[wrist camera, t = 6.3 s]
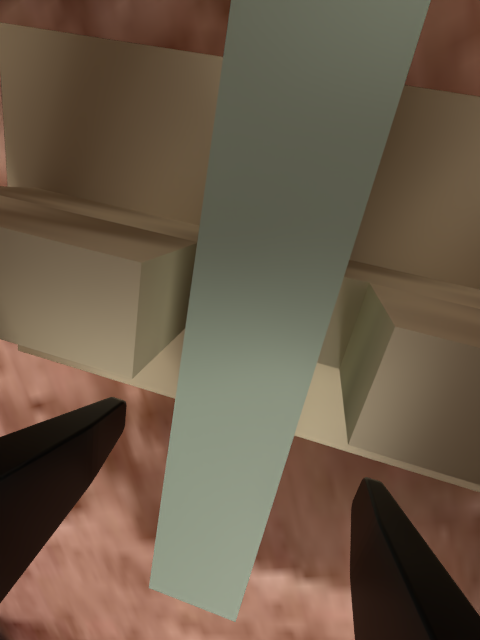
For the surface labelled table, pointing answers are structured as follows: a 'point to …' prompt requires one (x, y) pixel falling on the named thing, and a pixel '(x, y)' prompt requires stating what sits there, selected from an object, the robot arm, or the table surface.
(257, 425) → the sage board
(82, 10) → the table surface
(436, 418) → the maple jig
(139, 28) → the table surface
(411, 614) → the robot arm
